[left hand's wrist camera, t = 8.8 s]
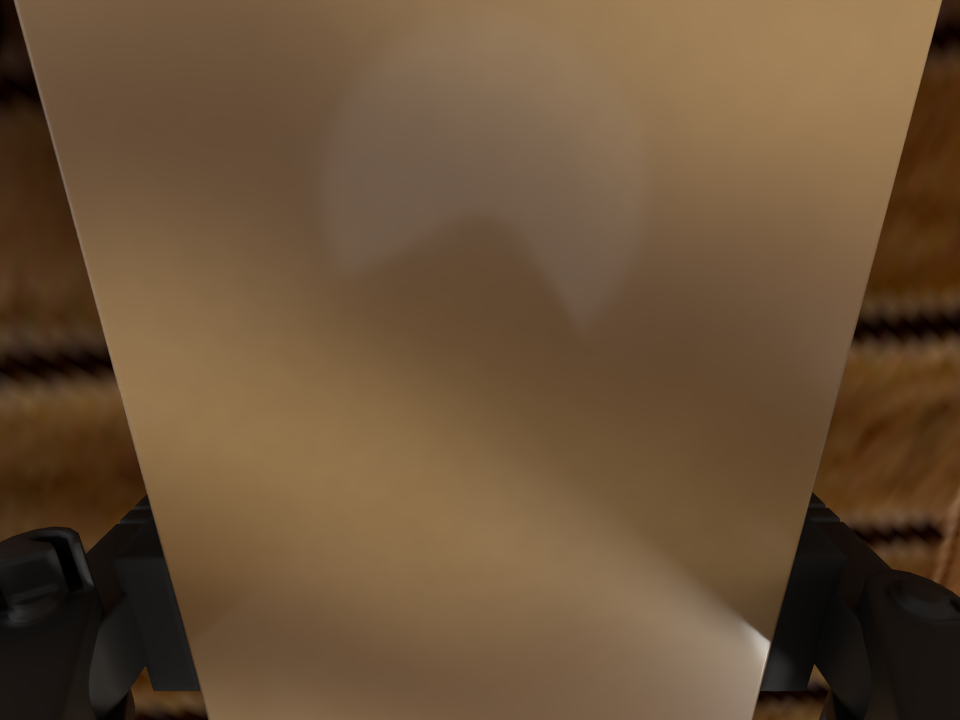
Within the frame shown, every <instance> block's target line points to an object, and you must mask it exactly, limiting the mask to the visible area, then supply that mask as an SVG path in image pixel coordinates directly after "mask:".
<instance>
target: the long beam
mask: <svg viewBox="0 0 960 720" xmlns="http://www.w3.org/2000/svg"><path fill="white" fill-rule="evenodd" d="M941 2H942V0H14V3H15V7H16V10H17V14H18V18H19V21H20V25H21V29H22V32H23V36H24V40H25V43H26V47H27V51H28V55H29V58H30V62H31V66H32V69H33V73H34V77H35V80H36V84H37V88H38V92H39V95H40V99H41V103H42V106H43V110H44V114H45V117H46V121H47V125H48V128H49V132H50V136H51V140H52V143H53V147H54V151H55V154H56V158H57V162H58V165H59V169H60V173H61V177H62V180H63V184H64V188H65V191H66V195H67V199H68V202H69V206H70V210H71V213H72V217H73V221H74V225H75V228H76V232H77V236H78V239H79V243H80V247H81V250H82V254H83V258H84V262H85V265H86V269H87V273H88V276H89V280H90V284H91V287H92V291H93V295H94V299H95V302H96V306H97V310H98V313H99V317H100V321H101V324H102V328H103V332H104V335H105V339H106V343H107V347H108V350H109V354H110V358H111V361H112V365H113V369H114V372H115V376H116V380H117V384H118V387H119V391H120V395H121V398H122V402H123V406H124V409H125V413H126V417H127V420H128V424H129V428H130V432H131V435H132V439H133V443H134V446H135V450H136V454H137V457H138V461H139V465H140V469H141V472H142V476H143V480H144V483H145V487H146V491H147V494H148V498H149V502H150V505H151V509H152V513H153V517H154V520H155V524H156V528H157V531H158V535H159V539H160V542H161V546H162V550H163V554H164V557H165V561H166V565H167V568H168V572H169V576H170V579H171V583H172V587H173V590H174V594H175V598H176V602H177V605H178V609H179V613H180V616H181V620H182V624H183V627H184V631H185V635H186V639H187V642H188V646H189V650H190V653H191V657H192V661H193V664H194V668H195V672H196V676H197V679H198V683H199V687H200V690H201V694H202V698H203V701H204V705H205V709H206V712H207V716H208V720H752V717H753V713H754V710H755V706H756V702H757V698H758V694H759V691H760V687H761V683H762V679H763V676H764V672H765V668H766V664H767V660H768V657H769V653H770V649H771V645H772V641H773V638H774V634H775V630H776V626H777V623H778V619H779V615H780V611H781V607H782V604H783V600H784V596H785V592H786V588H787V585H788V581H789V577H790V573H791V570H792V566H793V562H794V558H795V554H796V551H797V547H798V543H799V539H800V535H801V532H802V528H803V524H804V520H805V517H806V513H807V509H808V505H809V501H810V498H811V494H812V490H813V486H814V482H815V479H816V475H817V471H818V467H819V464H820V460H821V456H822V452H823V448H824V445H825V441H826V437H827V433H828V429H829V426H830V422H831V418H832V414H833V411H834V407H835V403H836V399H837V395H838V392H839V388H840V384H841V380H842V376H843V373H844V369H845V365H846V361H847V358H848V354H849V350H850V346H851V342H852V339H853V335H854V331H855V327H856V323H857V320H858V316H859V312H860V308H861V305H862V301H863V297H864V293H865V289H866V286H867V282H868V278H869V274H870V270H871V267H872V263H873V259H874V255H875V252H876V248H877V244H878V240H879V236H880V233H881V229H882V225H883V221H884V217H885V214H886V210H887V206H888V202H889V199H890V195H891V191H892V187H893V183H894V180H895V176H896V172H897V168H898V164H899V161H900V157H901V153H902V149H903V146H904V142H905V138H906V134H907V130H908V127H909V123H910V119H911V115H912V111H913V108H914V104H915V100H916V96H917V93H918V89H919V85H920V81H921V77H922V74H923V70H924V66H925V62H926V58H927V55H928V51H929V47H930V43H931V40H932V36H933V32H934V28H935V24H936V21H937V17H938V13H939V9H940V5H941Z"/></svg>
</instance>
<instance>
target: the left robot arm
mask: <svg viewBox="0 0 960 720" xmlns="http://www.w3.org/2000/svg"><path fill="white" fill-rule="evenodd" d="M814 664H815V665H816V667H817V668H818V669H819V671H820V672H821V674H822V675H823V677H824V678H825V680H826V681H827V683H828V684H829V686H830V689H829V692H828V695H827V698H826V701H825V704H824V707H823V710H822V713H821V716H820V719H819V720H960V597H958V596H957V595H956V594H955V593H953V592H952V591H950V590H949V589H947V588H945V587H943V586H941V585H939V584H937V583H936V582H934V581H932V580H930V579H927V578H924V577H921V576H918V575H916V574H913V573H910V572H905V571H899V570H893V569H891V568H890V567H889V566H888V565H887V564H886V563H885V562H884V561H883V560H882V559H881V558H880V557H879V556H878V555H877V554H876V553H875V552H874V551H873V550H872V549H871V548H869V547H868V546H867V545H866V544H865V543H864V542H863V541H862V540H861V539H860V538H859V537H858V536H857V535H856V534H855V533H854V532H853V531H852V530H851V529H850V528H849V527H848V526H847V525H846V524H845V523H844V522H840V518H838V517H837V516H836V515H835V514H834V513H833V512H832V511H831V510H830V509H829V508H826V507H825V504H824V503H823V502H822V501H821V500H820V499H819V498H818V497H817V496H816V495H815V494H814V493H813V492H812V494H811V498H810V501H809V505H808V509H807V513H806V517H805V520H804V524H803V528H802V532H801V535H800V539H799V543H798V547H797V551H796V554H795V558H794V562H793V566H792V570H791V573H790V577H789V581H788V585H787V588H786V592H785V596H784V600H783V604H782V607H781V611H780V615H779V619H778V623H777V626H776V630H775V634H774V638H773V641H772V645H771V649H770V653H769V657H768V660H767V664H766V668H765V672H764V676H763V679H762V683H761V687H760V691H806V688H807V685H808V682H809V679H810V675H811V672H812V669H813V666H814ZM145 666H146V667H147V671H148V674H149V677H150V680H151V683H152V687H153V690H154V691H200V687H199V683H198V679H197V676H196V672H195V668H194V664H193V661H192V657H191V653H190V650H189V646H188V642H187V639H186V635H185V631H184V627H183V624H182V620H181V616H180V613H179V609H178V605H177V602H176V598H175V594H174V590H173V587H172V583H171V579H170V576H169V572H168V568H167V565H166V561H165V557H164V554H163V550H162V546H161V542H160V539H159V535H158V531H157V528H156V524H155V520H154V517H153V513H152V509H151V505H150V502H149V498H148V494H147V495H146V496H145V497H144V498H143V499H142V500H141V501H140V502H139V503H138V504H137V505H136V506H135V509H134V510H131V511H130V512H129V513H128V514H127V515H126V516H124V517H123V518H122V519H121V520H120V524H116V525H115V526H114V527H113V528H112V529H111V530H110V531H109V532H108V533H107V534H106V535H105V536H104V537H103V538H102V539H101V540H100V541H99V542H98V543H97V544H96V545H95V546H94V547H93V548H92V549H91V550H90V551H89V552H88V553H87V554H85V551H84V548H83V545H82V542H81V539H80V536H79V533H77V532H76V531H74V530H72V529H71V528H65V527H49V528H42V529H35V530H32V531H29V532H25V533H22V534H19V535H16V536H13V537H10V538H8V539H6V540H4V541H2V542H0V720H134V714H135V705H134V699H133V695H132V692H131V689H130V688H131V686H132V685H133V683H134V682H135V680H136V679H137V677H138V676H139V675H140V673H141V672H142V670H143V669H144V667H145Z"/></svg>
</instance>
